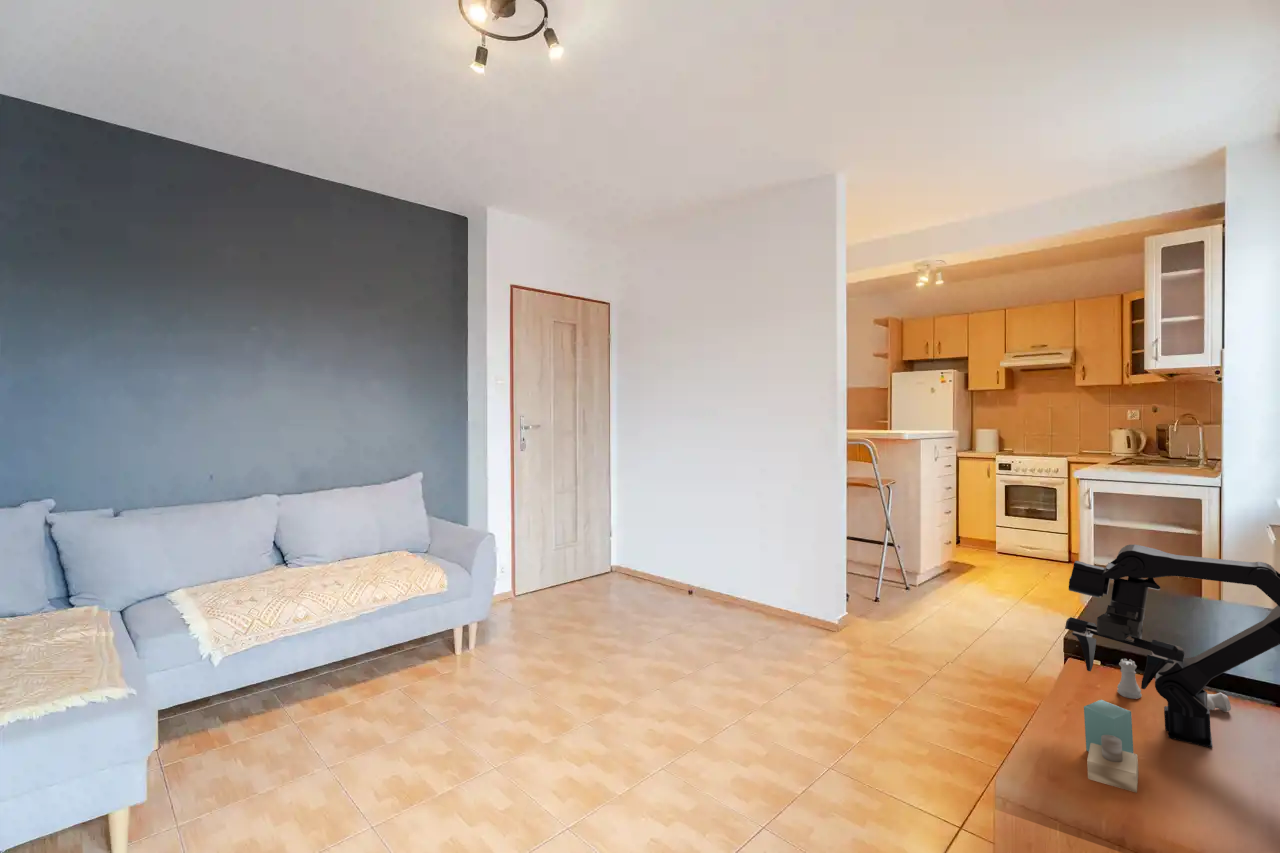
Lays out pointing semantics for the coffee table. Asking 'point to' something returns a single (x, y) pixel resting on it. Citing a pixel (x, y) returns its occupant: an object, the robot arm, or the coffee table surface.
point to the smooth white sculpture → (1218, 702)
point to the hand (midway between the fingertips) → (1115, 679)
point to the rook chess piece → (1128, 680)
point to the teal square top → (1108, 724)
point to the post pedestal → (1113, 764)
